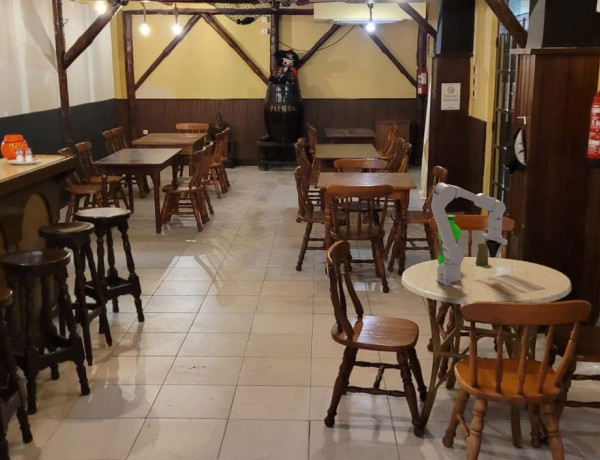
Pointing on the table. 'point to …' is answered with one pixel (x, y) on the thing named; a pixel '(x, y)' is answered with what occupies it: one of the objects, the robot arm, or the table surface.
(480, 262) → the olive tapered tower
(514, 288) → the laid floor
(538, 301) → the table surface
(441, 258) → the plastic bottle
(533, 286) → the loose plank
